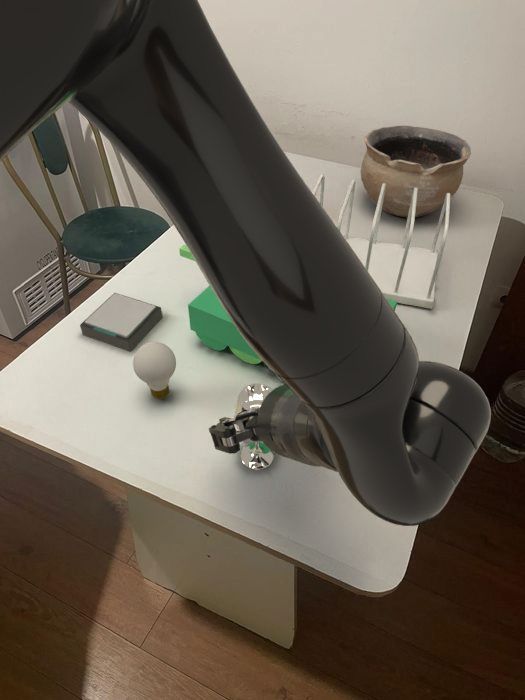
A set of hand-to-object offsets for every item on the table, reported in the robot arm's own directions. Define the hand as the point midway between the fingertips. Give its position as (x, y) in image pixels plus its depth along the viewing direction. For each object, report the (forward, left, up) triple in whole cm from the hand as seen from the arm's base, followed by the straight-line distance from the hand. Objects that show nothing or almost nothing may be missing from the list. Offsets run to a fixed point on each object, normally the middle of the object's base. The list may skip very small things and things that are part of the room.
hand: (255, 414), depth 64 cm
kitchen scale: (-22, +26, -8) cm, 35 cm away
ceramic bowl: (+36, +66, -8) cm, 76 cm away
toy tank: (+3, +23, -8) cm, 25 cm away
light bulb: (-14, +10, -8) cm, 19 cm away
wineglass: (0, -1, -8) cm, 8 cm away
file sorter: (+23, +41, -8) cm, 48 cm away
